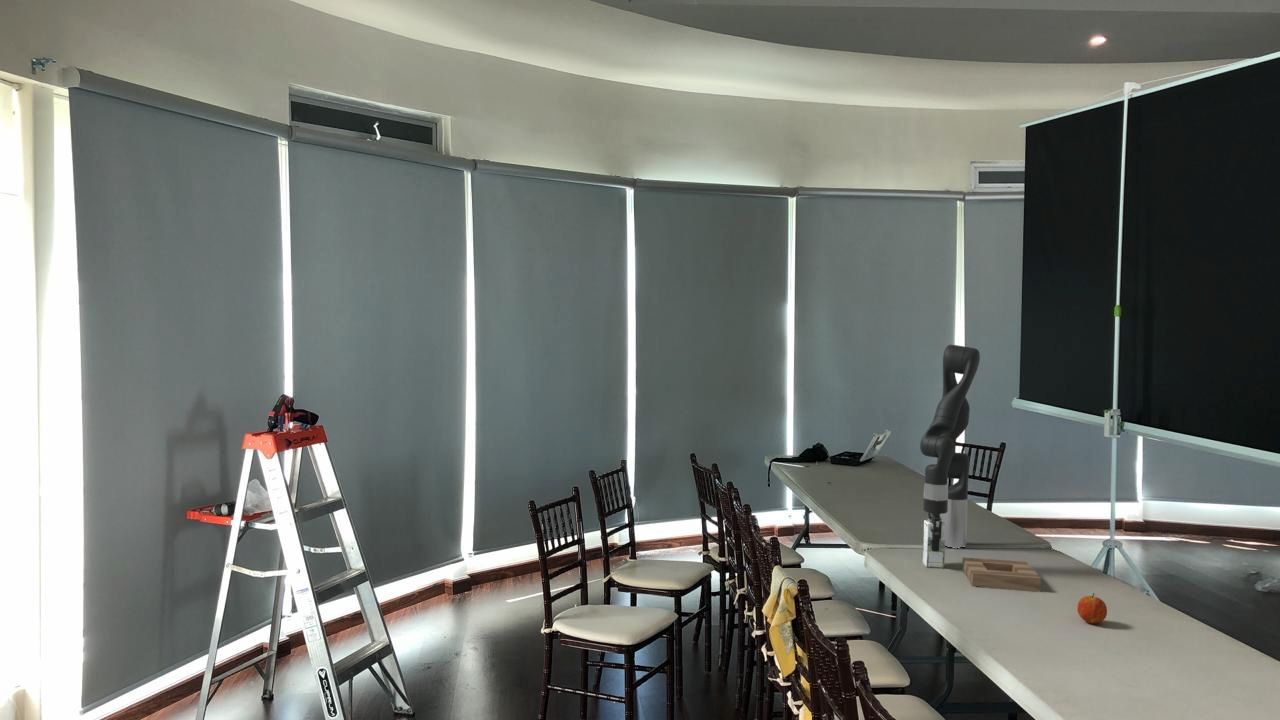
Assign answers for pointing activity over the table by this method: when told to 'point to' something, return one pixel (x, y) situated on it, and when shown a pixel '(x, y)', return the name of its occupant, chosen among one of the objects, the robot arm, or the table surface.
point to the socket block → (1001, 574)
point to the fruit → (1092, 609)
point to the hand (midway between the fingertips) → (934, 548)
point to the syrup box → (930, 556)
